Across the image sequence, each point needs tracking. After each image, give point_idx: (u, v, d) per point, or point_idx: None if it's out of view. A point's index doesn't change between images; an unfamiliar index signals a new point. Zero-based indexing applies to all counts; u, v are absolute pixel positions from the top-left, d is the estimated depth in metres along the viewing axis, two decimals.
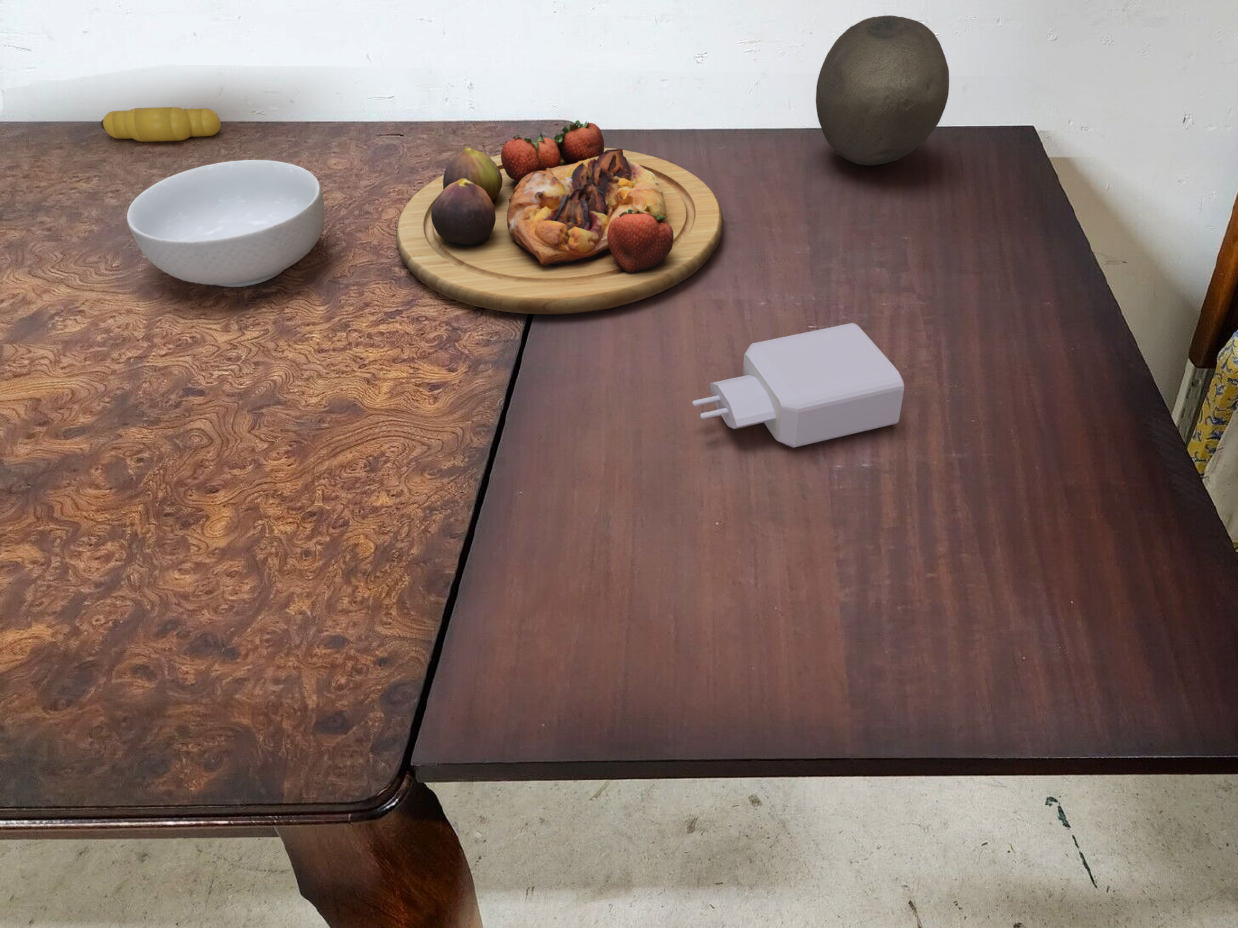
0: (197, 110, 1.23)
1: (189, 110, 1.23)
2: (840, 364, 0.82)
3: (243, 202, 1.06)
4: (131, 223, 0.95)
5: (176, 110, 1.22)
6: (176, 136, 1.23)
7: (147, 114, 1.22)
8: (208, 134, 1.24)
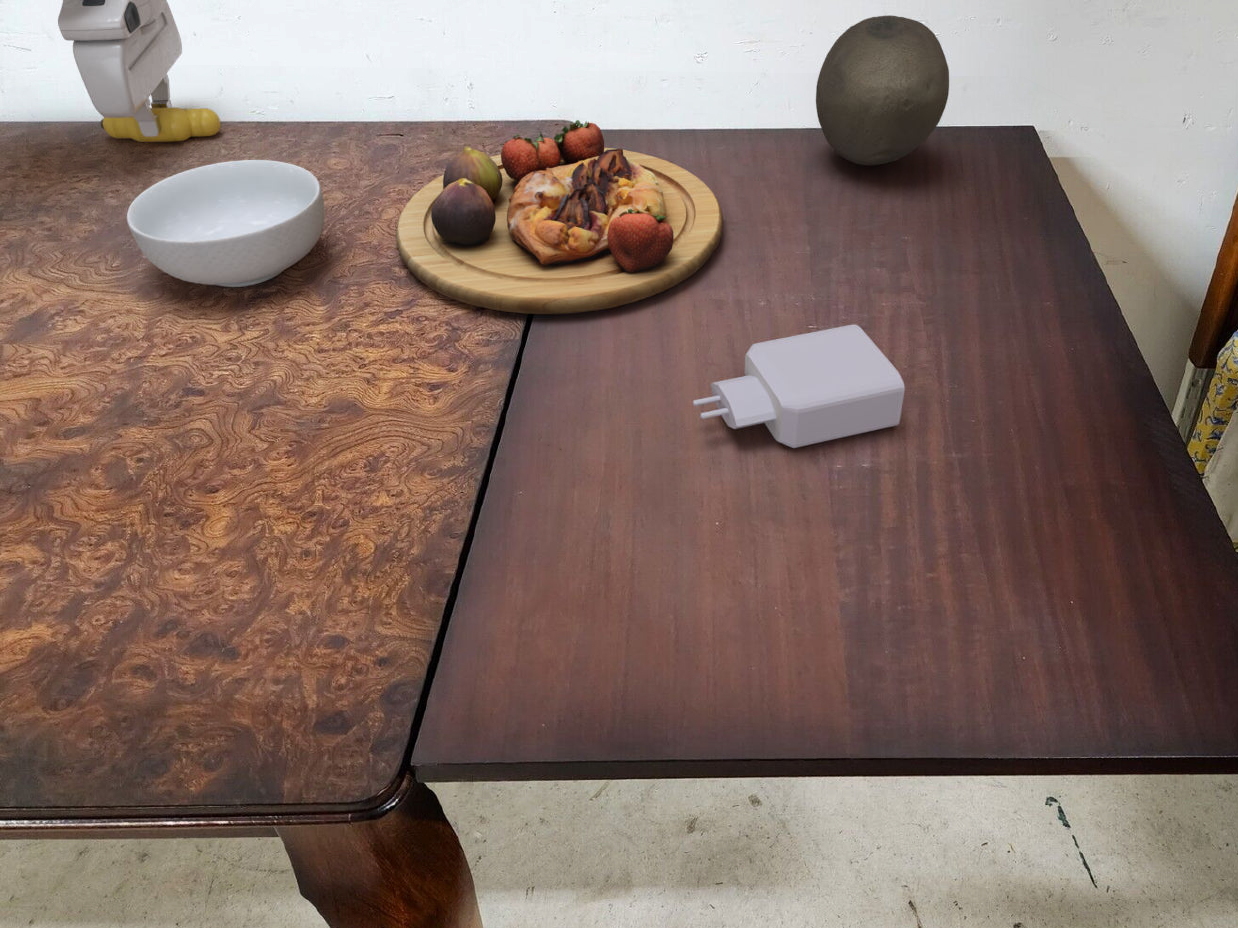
0: (197, 110, 1.23)
1: (189, 110, 1.23)
2: (841, 365, 0.83)
3: (243, 202, 1.06)
4: (131, 223, 0.95)
5: (176, 111, 1.22)
6: (176, 137, 1.23)
7: None
8: (208, 134, 1.24)
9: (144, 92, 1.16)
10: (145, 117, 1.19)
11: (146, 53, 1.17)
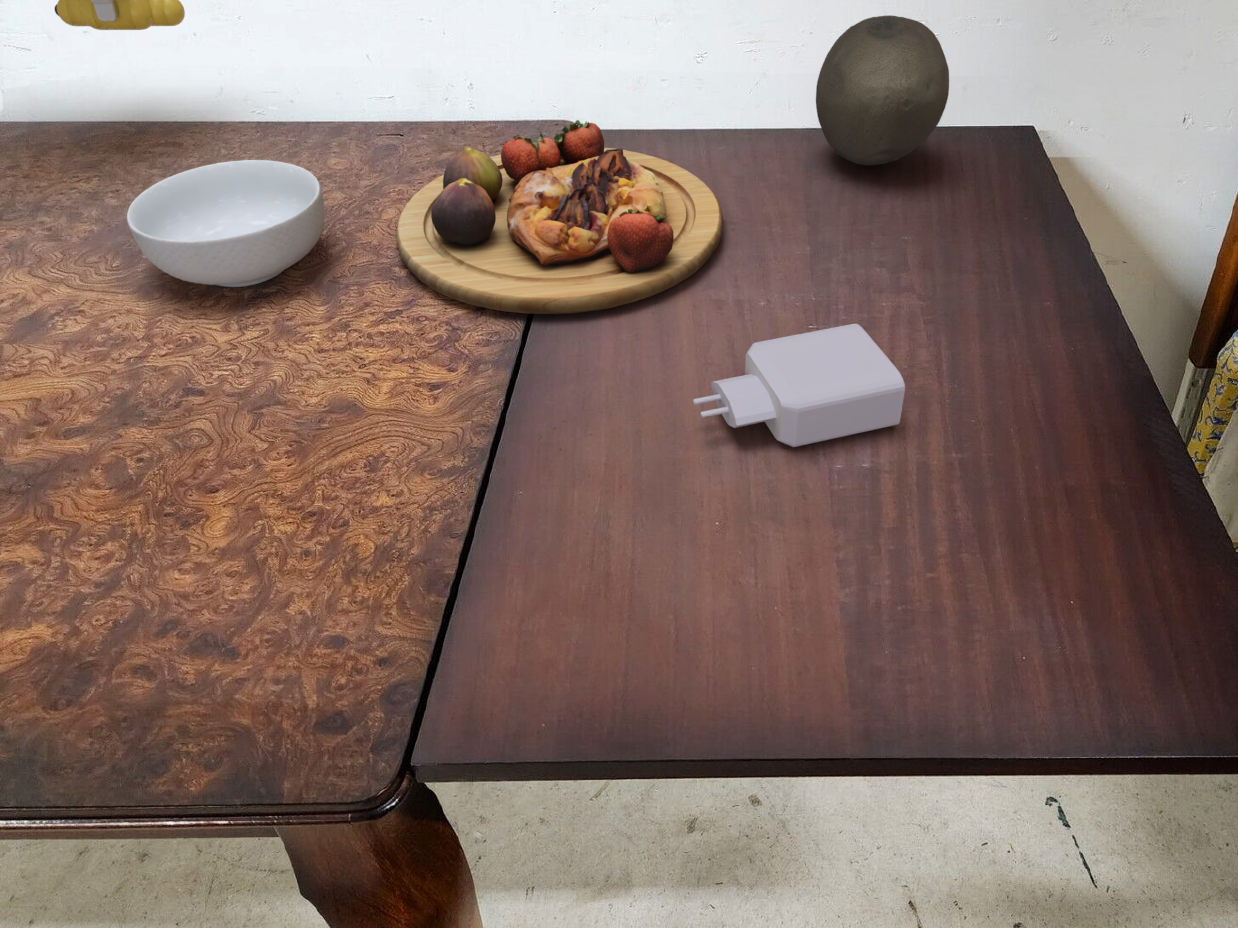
0: None
1: None
2: (841, 364, 0.82)
3: (243, 202, 1.06)
4: (131, 223, 0.95)
5: None
6: (136, 24, 1.14)
7: None
8: (171, 24, 1.16)
9: None
10: None
11: None
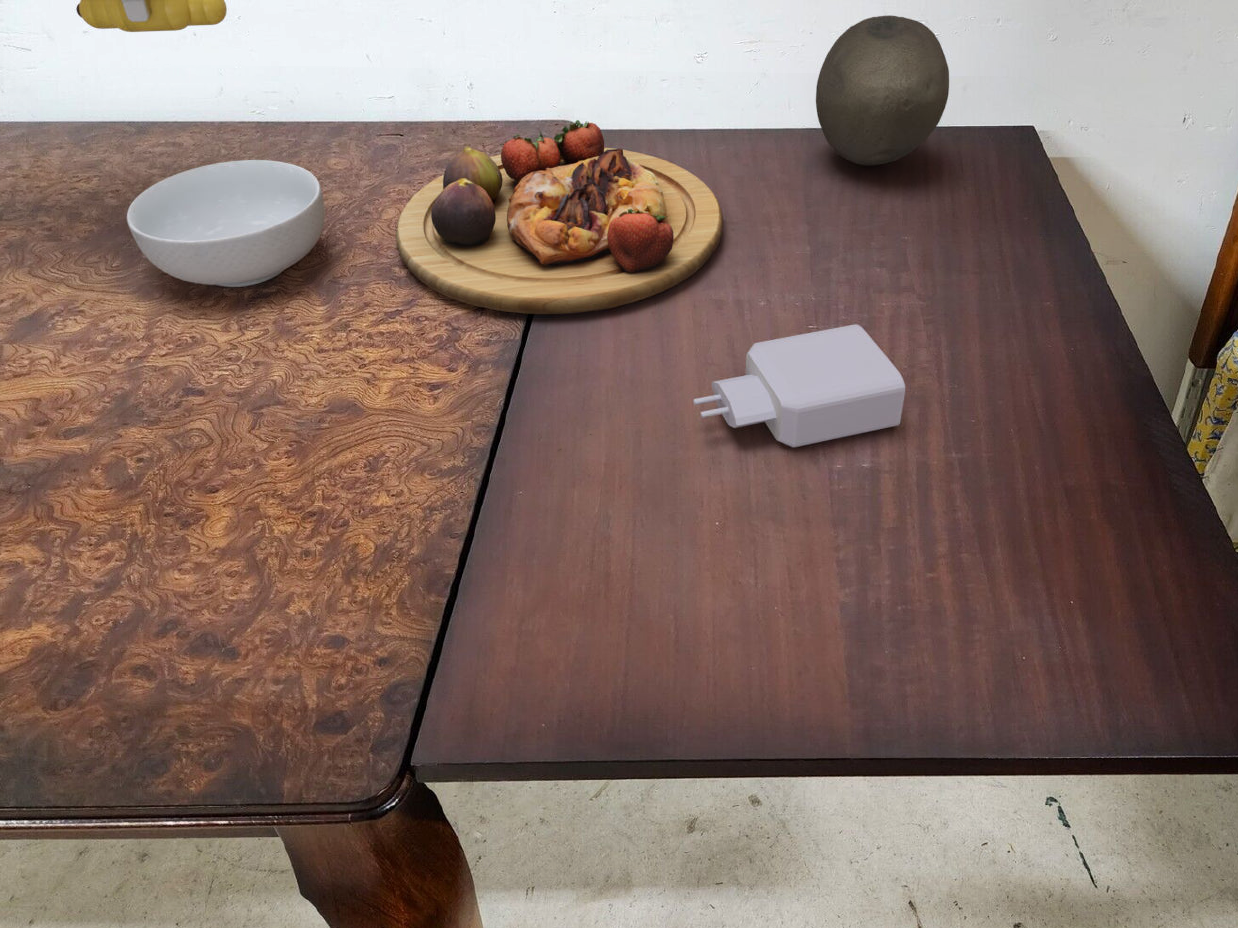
0: None
1: None
2: (842, 365, 0.83)
3: (243, 202, 1.06)
4: (131, 223, 0.95)
5: None
6: (172, 24, 0.98)
7: None
8: (211, 22, 1.00)
9: None
10: None
11: None
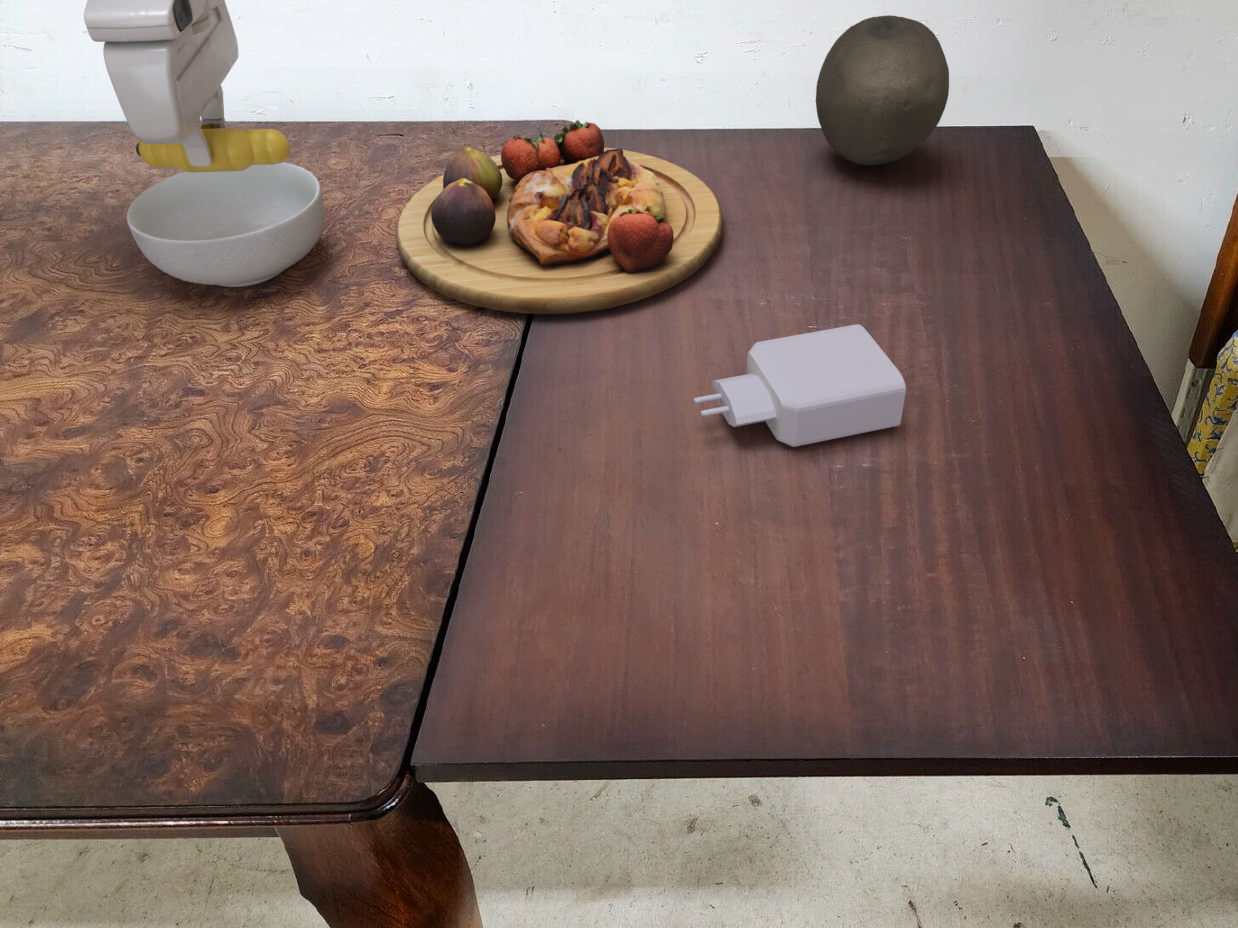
0: (260, 132, 0.95)
1: (250, 132, 0.95)
2: (843, 365, 0.82)
3: (243, 202, 1.06)
4: (131, 223, 0.95)
5: (234, 133, 0.94)
6: (234, 166, 0.95)
7: None
8: (274, 162, 0.97)
9: (195, 110, 0.88)
10: (195, 142, 0.91)
11: (198, 59, 0.89)
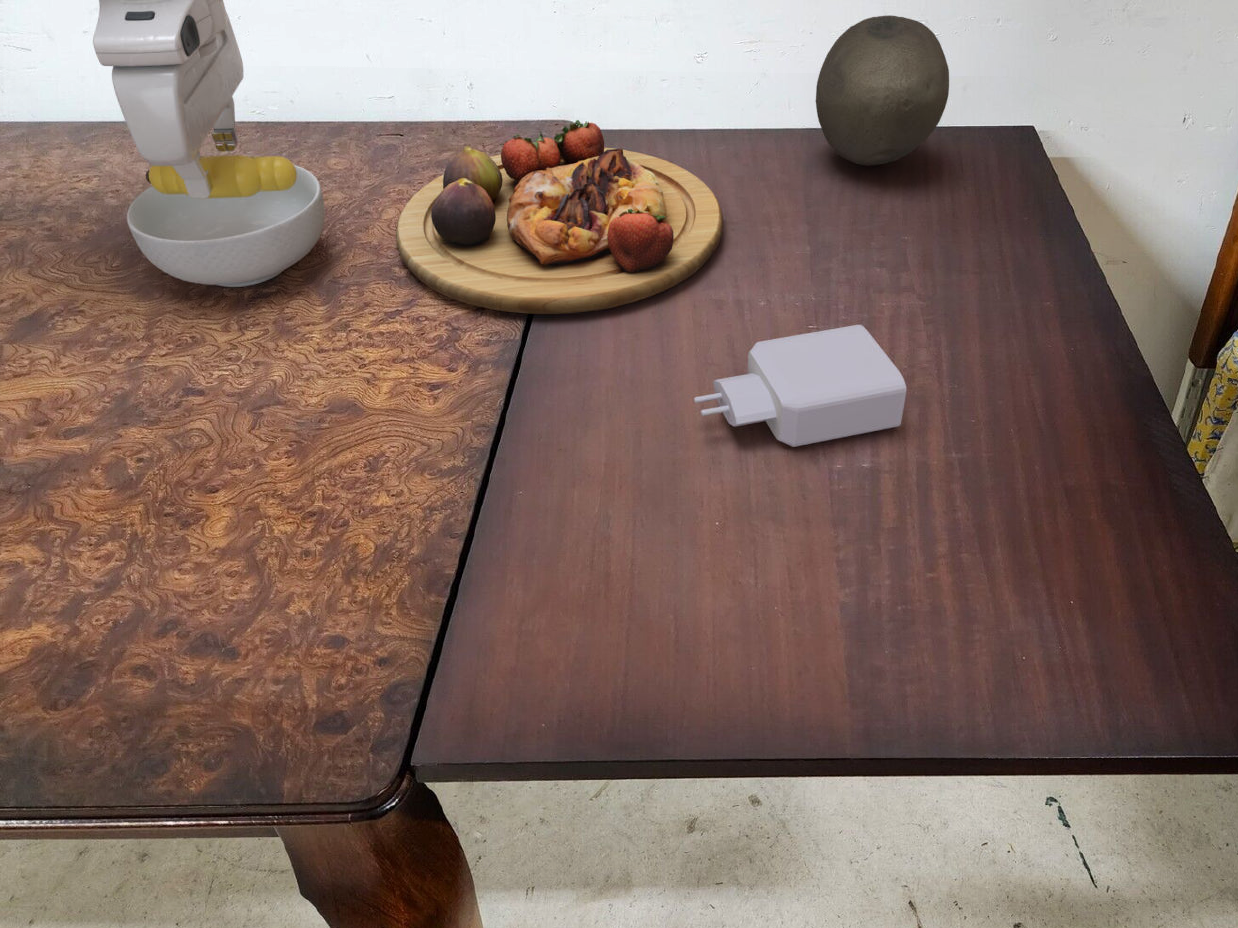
0: (268, 159, 0.97)
1: (258, 159, 0.97)
2: (843, 365, 0.82)
3: (243, 202, 1.06)
4: (131, 223, 0.95)
5: (242, 159, 0.96)
6: (242, 192, 0.97)
7: (206, 165, 0.96)
8: (281, 189, 0.98)
9: (202, 132, 0.89)
10: (194, 174, 0.91)
11: (204, 81, 0.90)
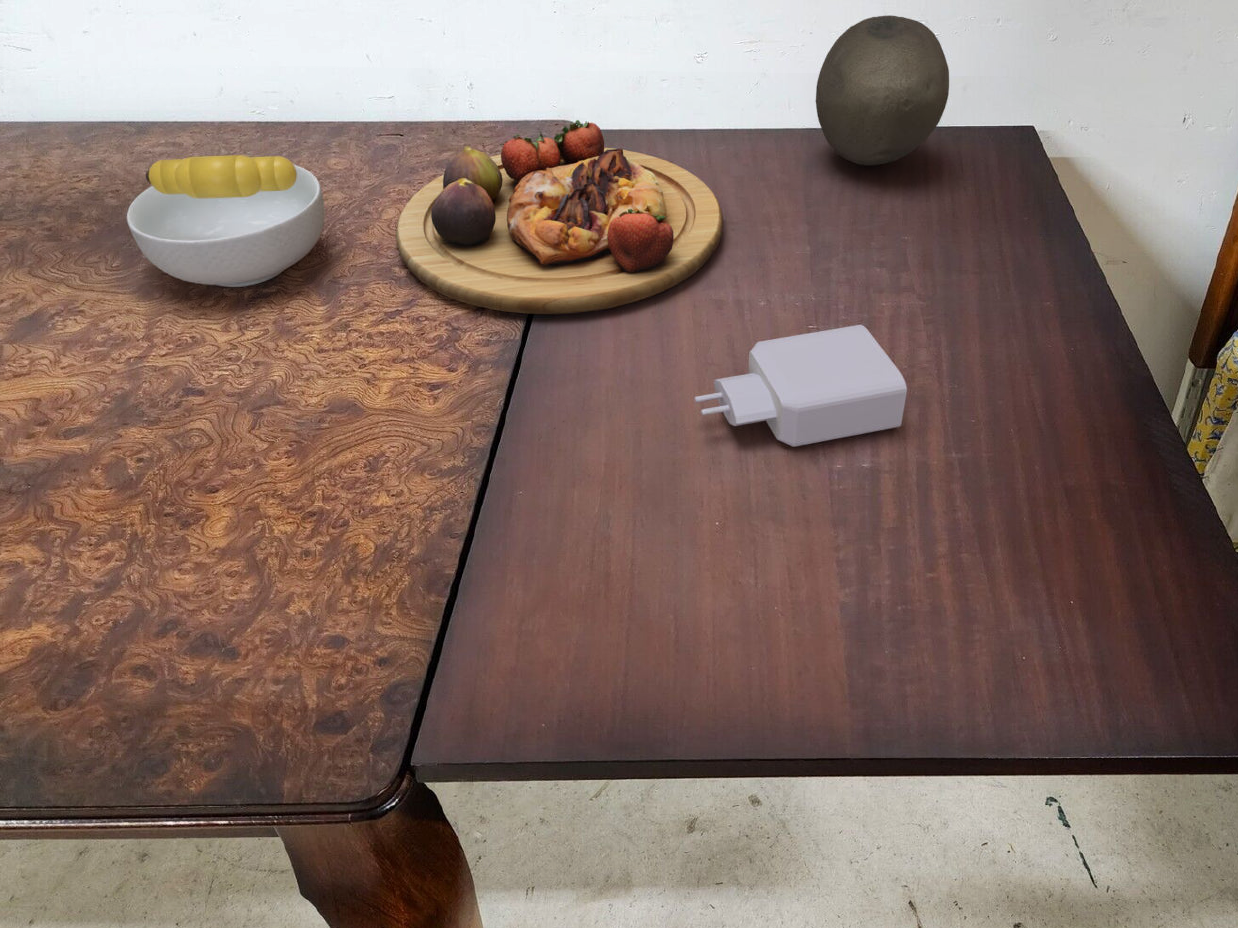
0: (268, 159, 0.97)
1: (258, 159, 0.97)
2: (844, 365, 0.82)
3: (243, 202, 1.06)
4: (131, 223, 0.95)
5: (242, 159, 0.96)
6: (242, 192, 0.97)
7: (206, 165, 0.96)
8: (281, 189, 0.98)
9: None
10: None
11: None
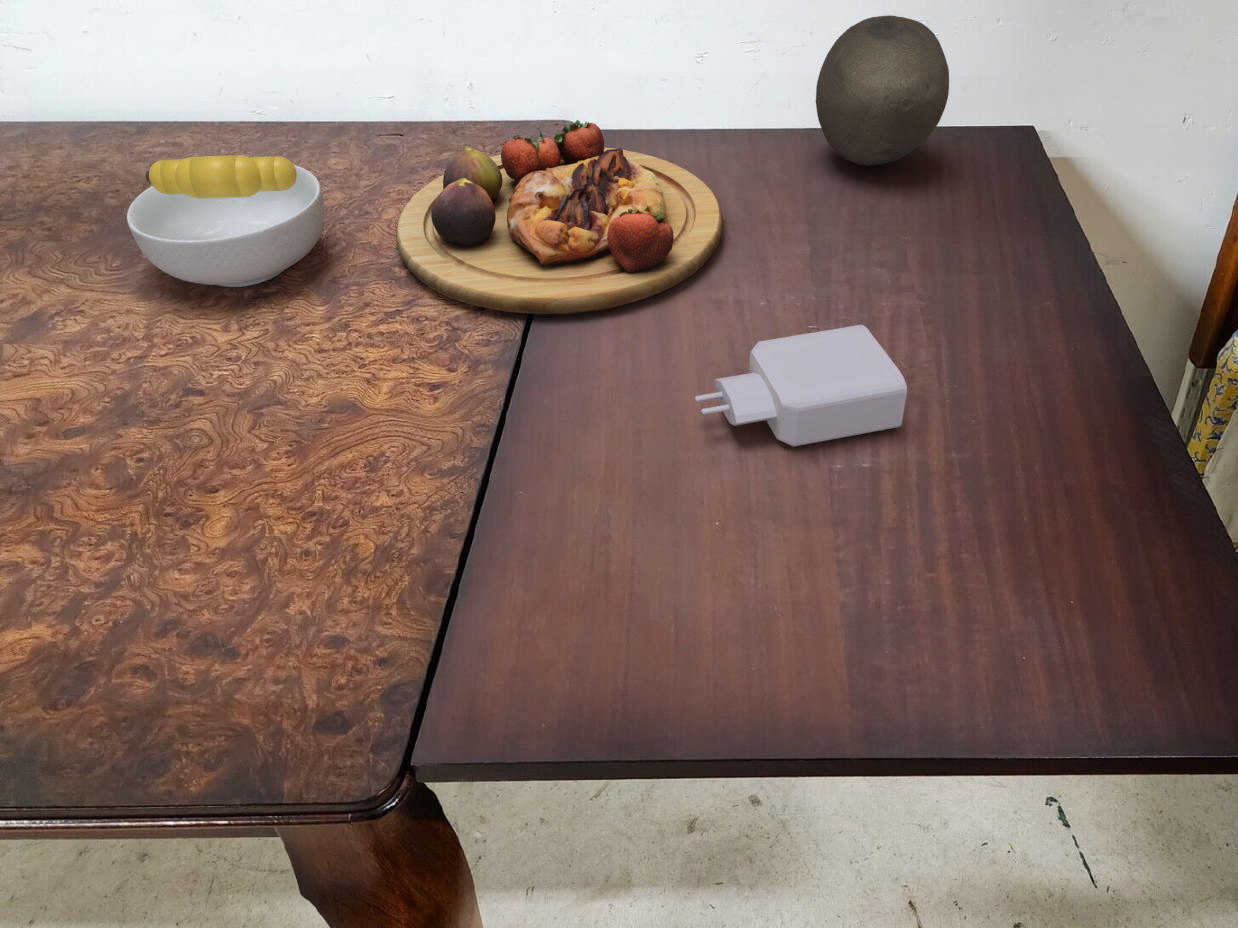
0: (268, 159, 0.97)
1: (258, 159, 0.97)
2: (844, 365, 0.82)
3: (243, 202, 1.06)
4: (131, 223, 0.95)
5: (242, 159, 0.96)
6: (242, 192, 0.97)
7: (206, 165, 0.96)
8: (281, 189, 0.98)
9: None
10: None
11: None
